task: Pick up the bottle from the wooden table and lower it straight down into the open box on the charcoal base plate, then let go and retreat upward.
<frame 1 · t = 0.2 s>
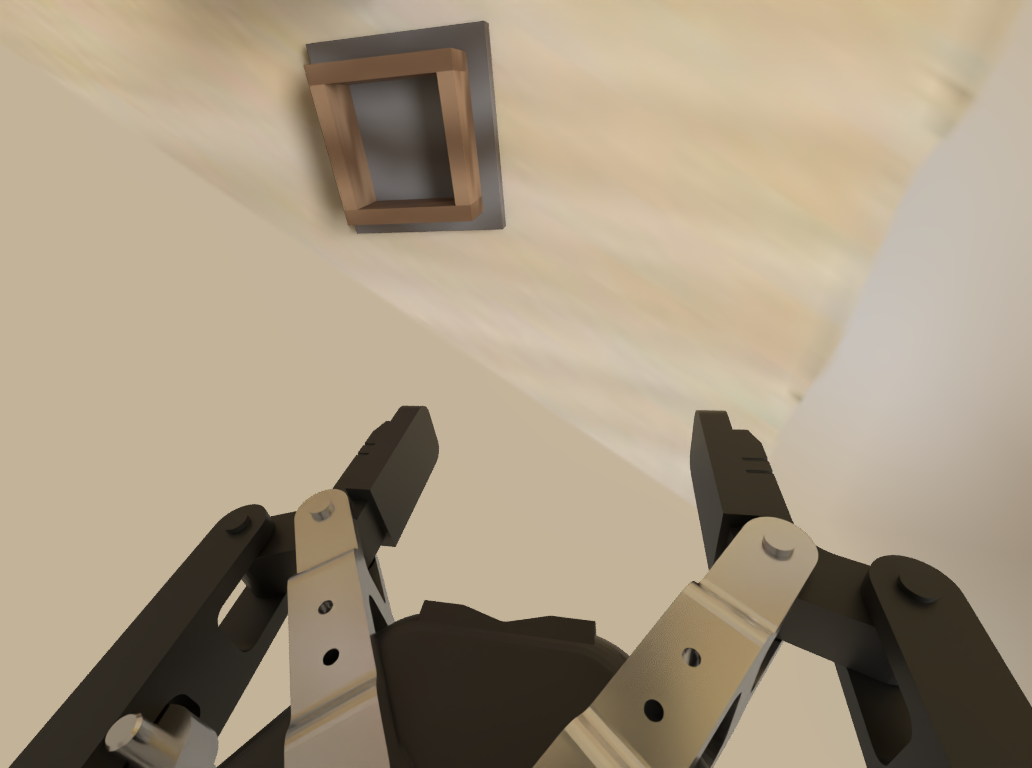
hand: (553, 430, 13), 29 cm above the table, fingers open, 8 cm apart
open box: (416, 141, 36), on the table
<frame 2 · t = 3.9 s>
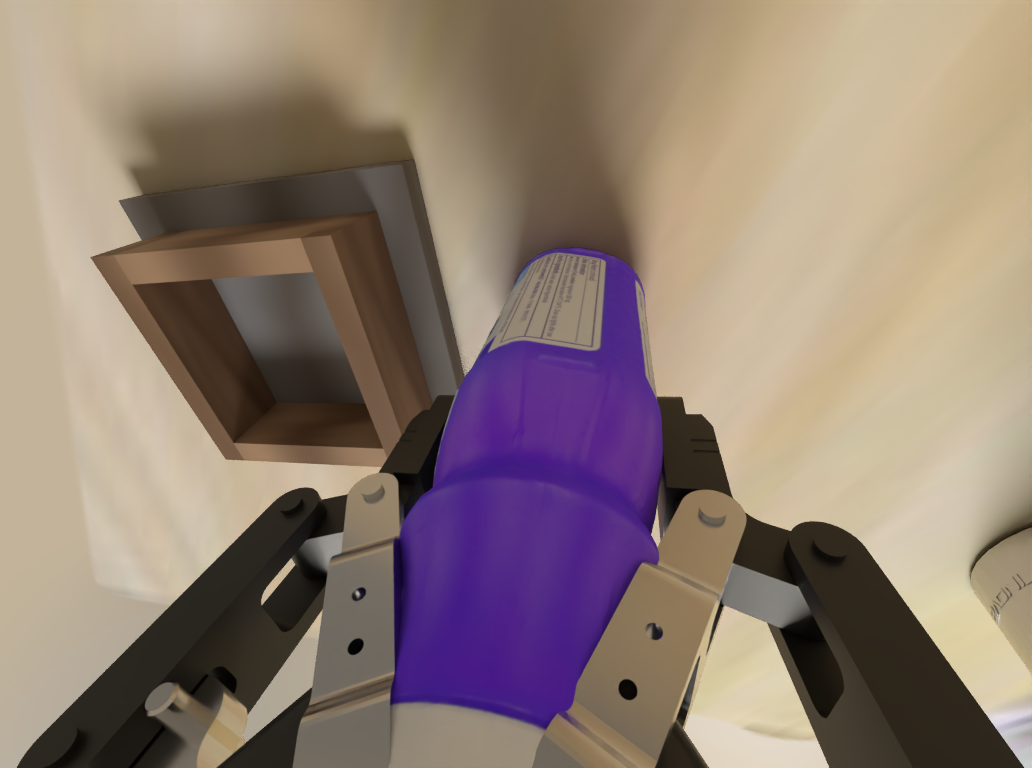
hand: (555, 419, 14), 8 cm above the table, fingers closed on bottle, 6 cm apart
open box: (325, 324, 23), on the table
bottle: (575, 313, 20), on the table, touching gripper
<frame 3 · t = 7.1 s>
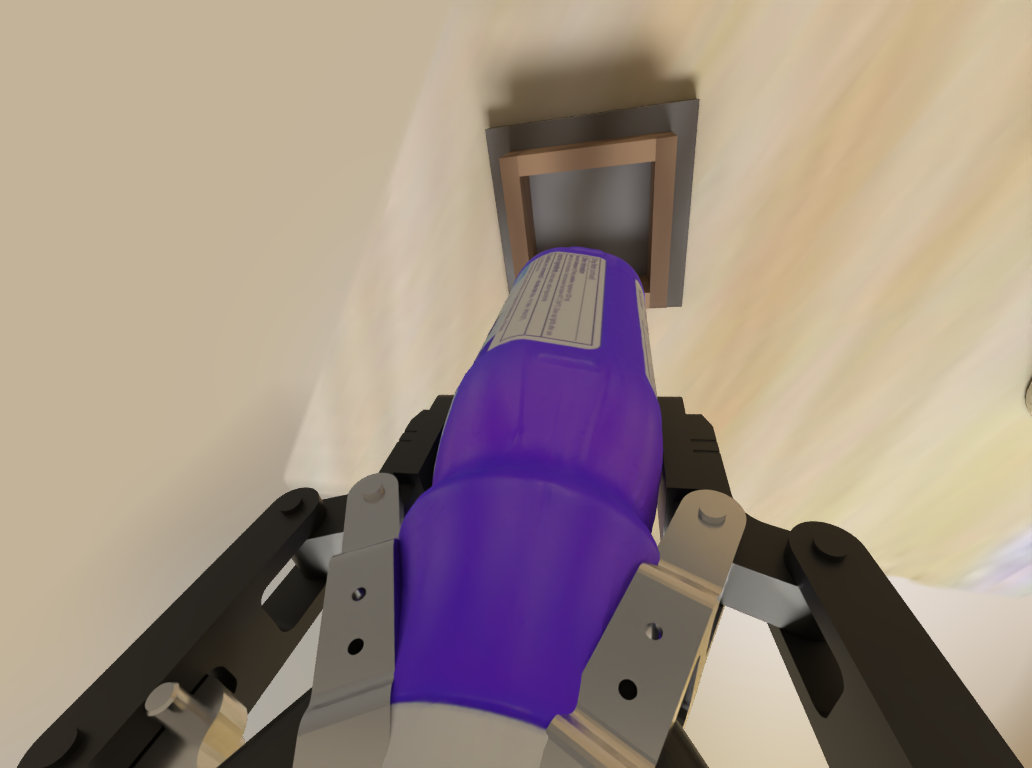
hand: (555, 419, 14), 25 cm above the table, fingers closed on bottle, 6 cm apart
open box: (590, 220, 33), on the table
bottle: (575, 312, 20), point 17 cm above the table, touching gripper
when the fingers open (10 cm above the table, at t = 10.0 s): bottle stays where it is, resting on open box.
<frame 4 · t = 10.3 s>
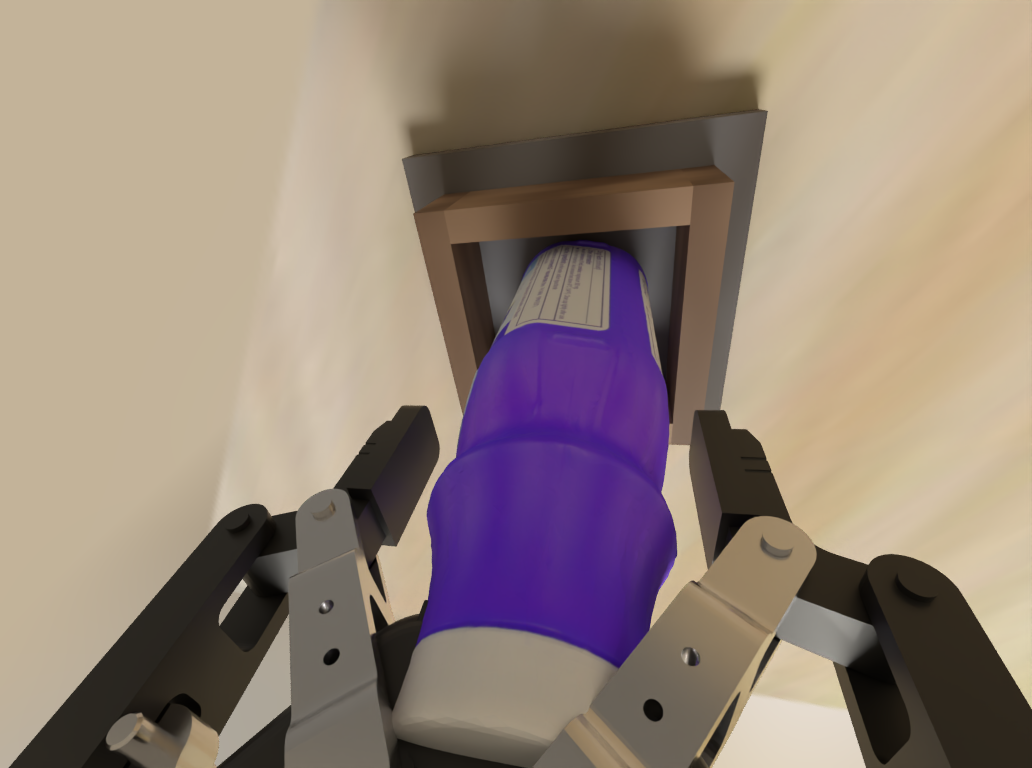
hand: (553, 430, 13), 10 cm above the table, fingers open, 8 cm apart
open box: (578, 295, 21), on the table
bottle: (581, 304, 21), point 1 cm above the table, touching open box
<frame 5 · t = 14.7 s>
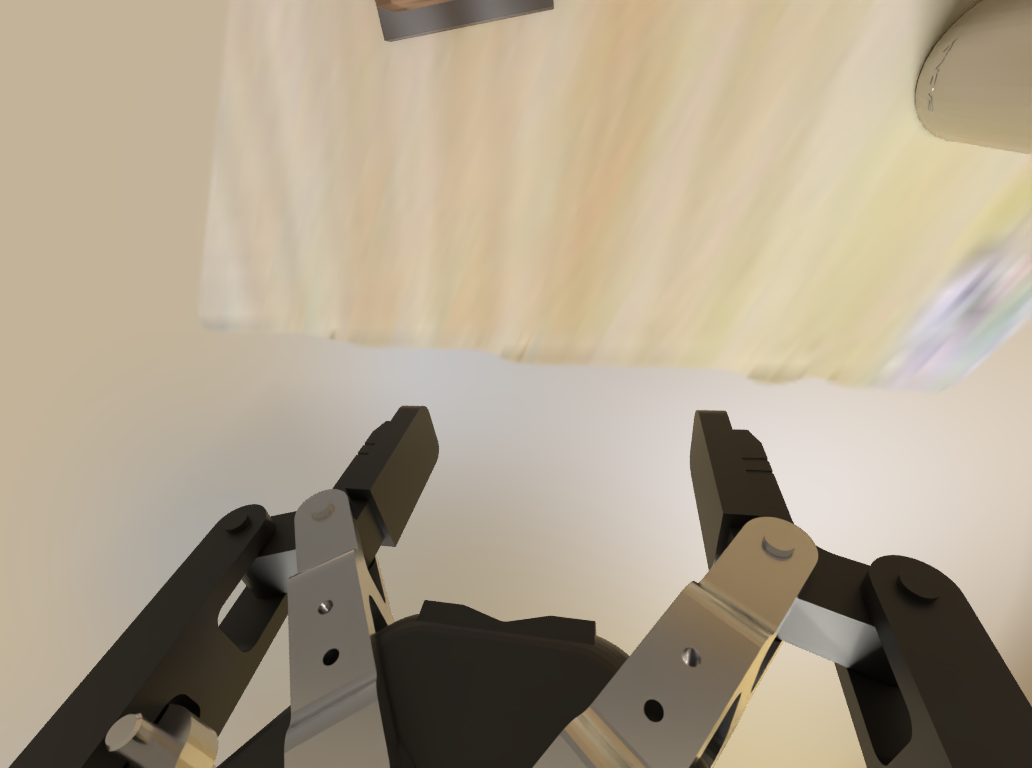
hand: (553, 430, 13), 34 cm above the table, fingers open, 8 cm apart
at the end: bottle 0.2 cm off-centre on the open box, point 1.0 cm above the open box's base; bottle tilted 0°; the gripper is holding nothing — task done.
